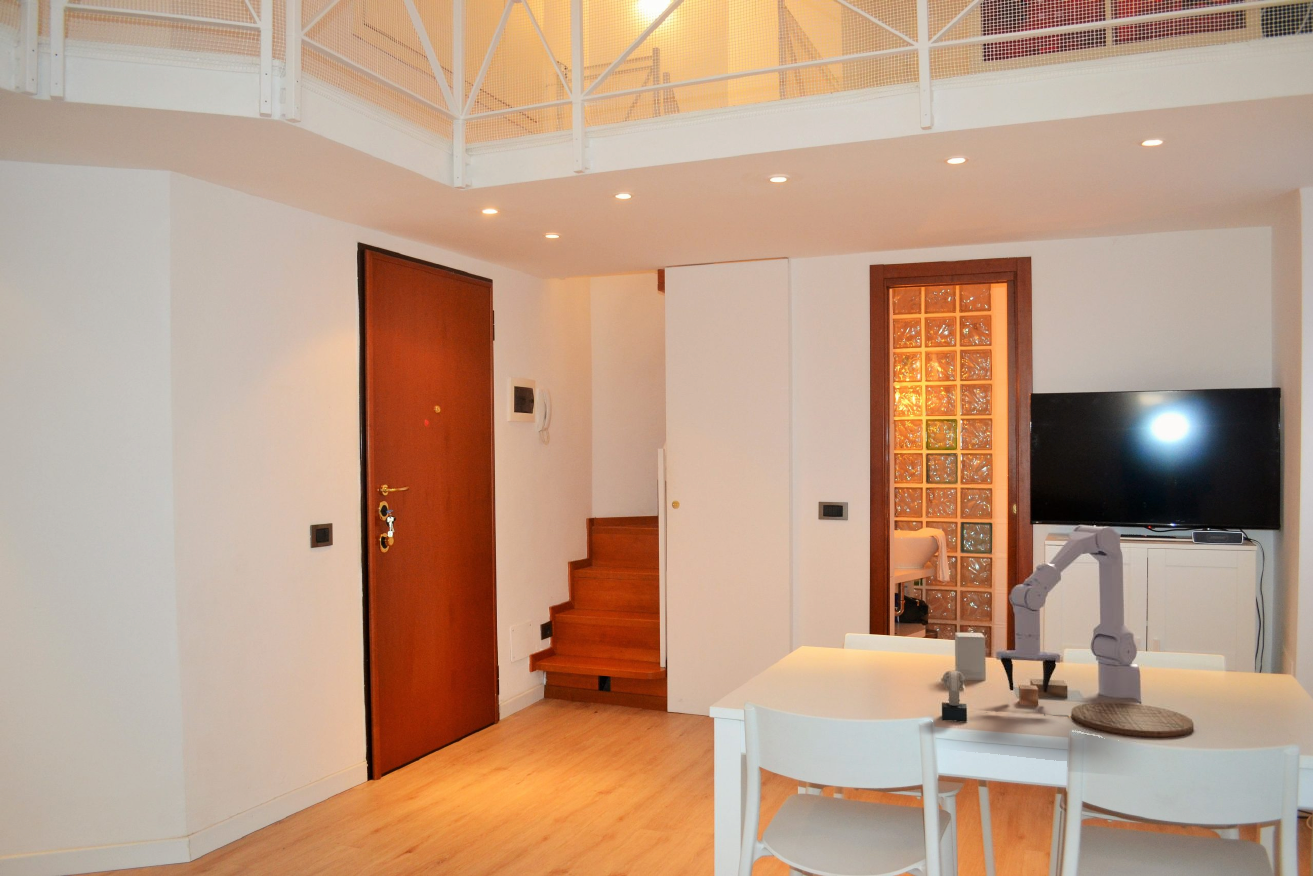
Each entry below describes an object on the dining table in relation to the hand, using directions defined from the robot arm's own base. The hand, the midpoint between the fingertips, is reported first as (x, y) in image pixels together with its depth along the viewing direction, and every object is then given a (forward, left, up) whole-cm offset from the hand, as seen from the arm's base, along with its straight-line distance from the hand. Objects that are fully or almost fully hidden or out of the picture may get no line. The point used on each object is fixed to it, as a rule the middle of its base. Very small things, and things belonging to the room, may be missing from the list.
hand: (1028, 690), depth 234 cm
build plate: (-6, -11, -4) cm, 13 cm away
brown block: (-6, -11, -3) cm, 13 cm away
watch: (+18, +15, -4) cm, 24 cm away
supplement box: (+12, -27, -4) cm, 30 cm away
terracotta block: (0, 0, -4) cm, 4 cm away
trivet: (-21, +9, -5) cm, 23 cm away
